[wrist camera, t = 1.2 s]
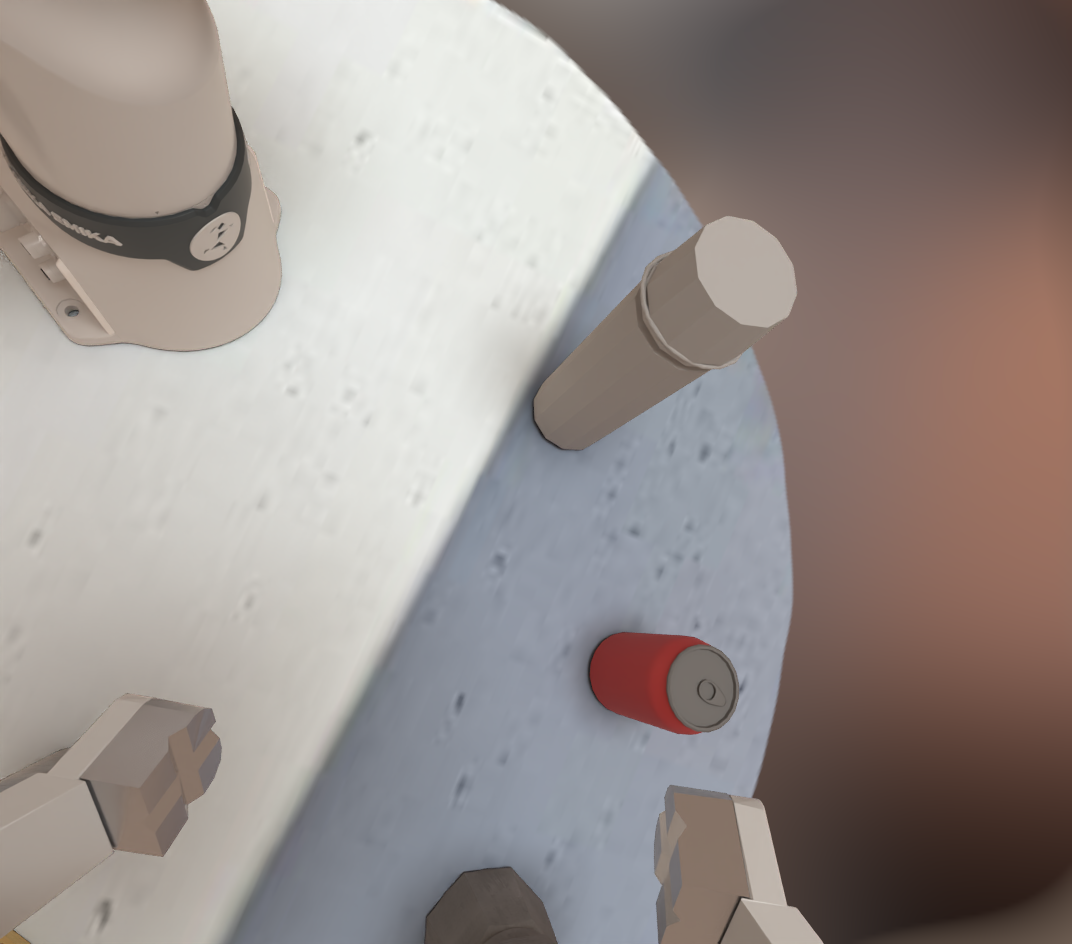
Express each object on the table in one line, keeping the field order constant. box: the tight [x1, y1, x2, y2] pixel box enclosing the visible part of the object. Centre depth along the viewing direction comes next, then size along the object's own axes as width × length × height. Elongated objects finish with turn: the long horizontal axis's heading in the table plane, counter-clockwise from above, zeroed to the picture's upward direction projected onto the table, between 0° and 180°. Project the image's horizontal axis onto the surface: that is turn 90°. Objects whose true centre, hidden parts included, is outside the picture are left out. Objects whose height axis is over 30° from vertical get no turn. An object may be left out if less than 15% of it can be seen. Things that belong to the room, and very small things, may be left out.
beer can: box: [590, 632, 739, 735], centre depth 46 cm, size 7×7×12 cm
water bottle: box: [534, 216, 797, 450], centre depth 44 cm, size 9×8×25 cm
